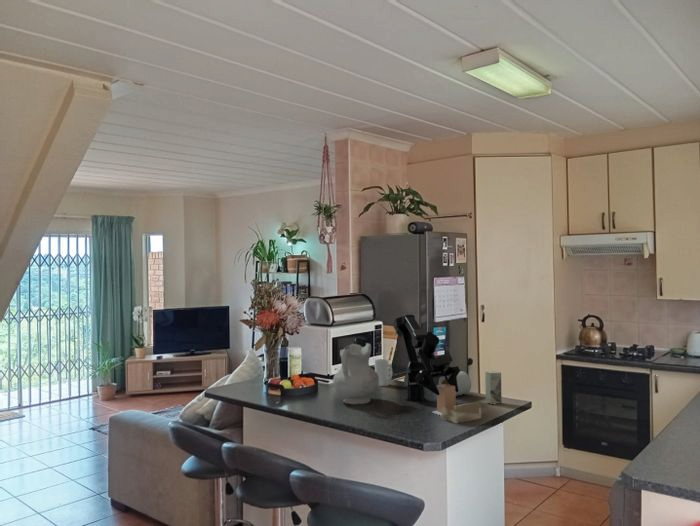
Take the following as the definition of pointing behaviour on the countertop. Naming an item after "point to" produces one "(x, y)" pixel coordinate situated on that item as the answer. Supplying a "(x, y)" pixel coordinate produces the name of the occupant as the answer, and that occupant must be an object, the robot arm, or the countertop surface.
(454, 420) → the cubby
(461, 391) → the toilet paper
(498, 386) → the box
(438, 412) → the mat
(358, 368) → the ceramic pitcher
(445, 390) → the brown rectangular block
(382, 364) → the mug
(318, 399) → the countertop surface
